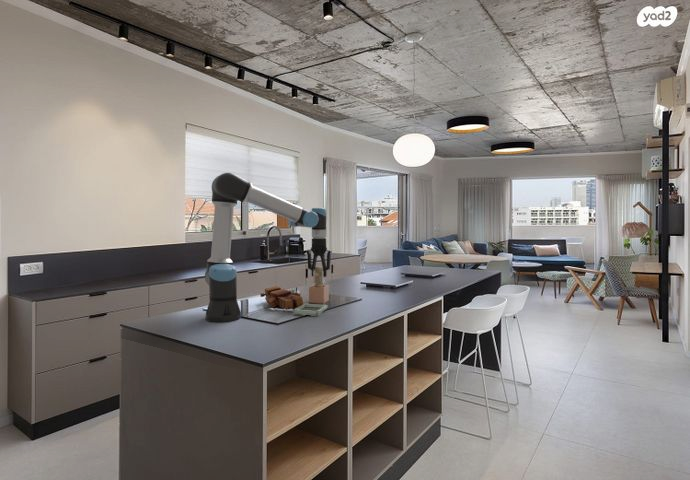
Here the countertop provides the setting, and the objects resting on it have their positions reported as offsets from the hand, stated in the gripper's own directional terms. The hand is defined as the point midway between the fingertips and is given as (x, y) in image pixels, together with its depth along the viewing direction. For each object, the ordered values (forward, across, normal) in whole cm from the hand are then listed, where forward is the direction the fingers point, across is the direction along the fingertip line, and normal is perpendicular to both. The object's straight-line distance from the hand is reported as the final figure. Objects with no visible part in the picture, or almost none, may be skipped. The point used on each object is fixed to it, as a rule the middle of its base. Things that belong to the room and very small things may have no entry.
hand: (319, 282), depth 220 cm
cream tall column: (+10, 0, 0) cm, 10 cm away
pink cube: (+11, 0, 0) cm, 11 cm away
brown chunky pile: (+11, -16, -12) cm, 23 cm away
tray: (+11, +3, -20) cm, 23 cm away
